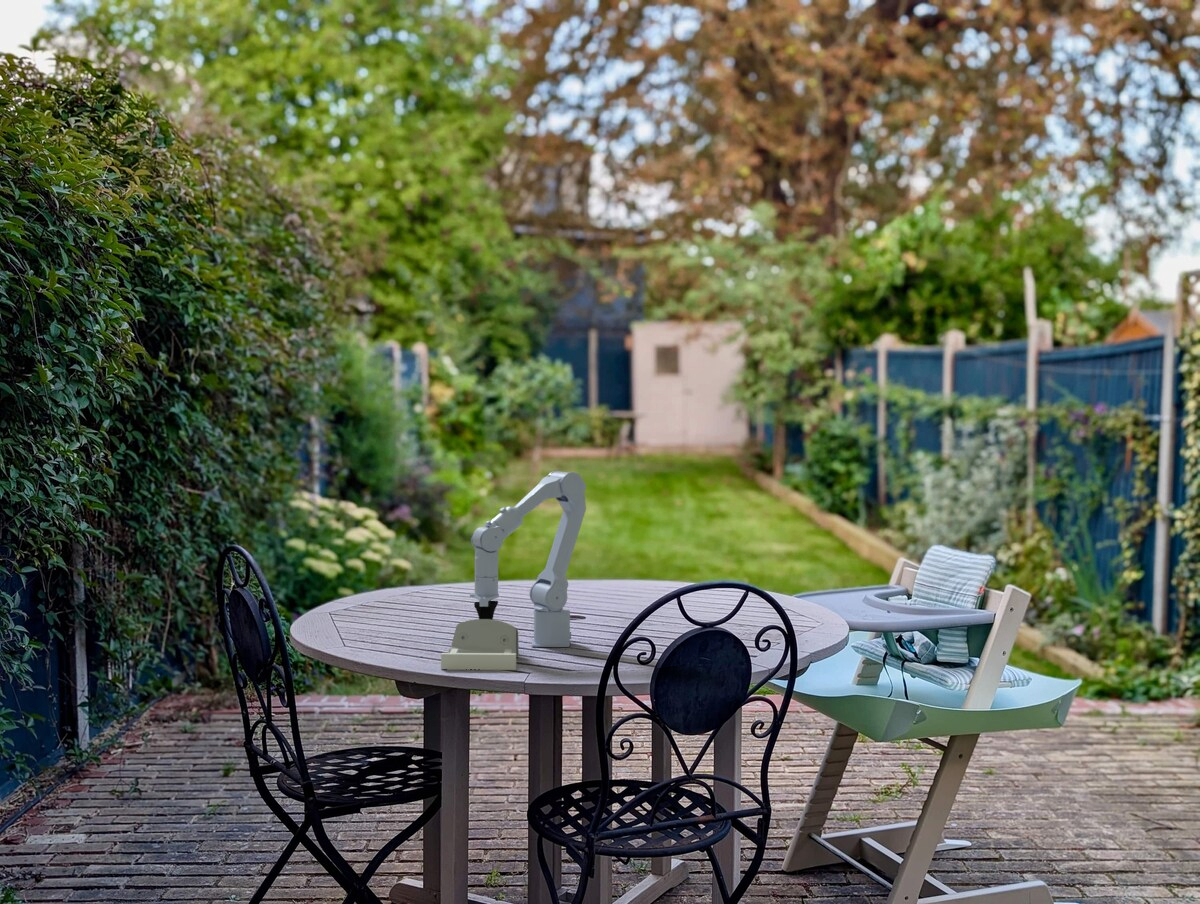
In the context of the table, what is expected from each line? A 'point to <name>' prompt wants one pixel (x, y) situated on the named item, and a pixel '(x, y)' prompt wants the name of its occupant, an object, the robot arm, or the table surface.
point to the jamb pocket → (478, 660)
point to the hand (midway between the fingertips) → (486, 631)
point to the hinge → (485, 637)
